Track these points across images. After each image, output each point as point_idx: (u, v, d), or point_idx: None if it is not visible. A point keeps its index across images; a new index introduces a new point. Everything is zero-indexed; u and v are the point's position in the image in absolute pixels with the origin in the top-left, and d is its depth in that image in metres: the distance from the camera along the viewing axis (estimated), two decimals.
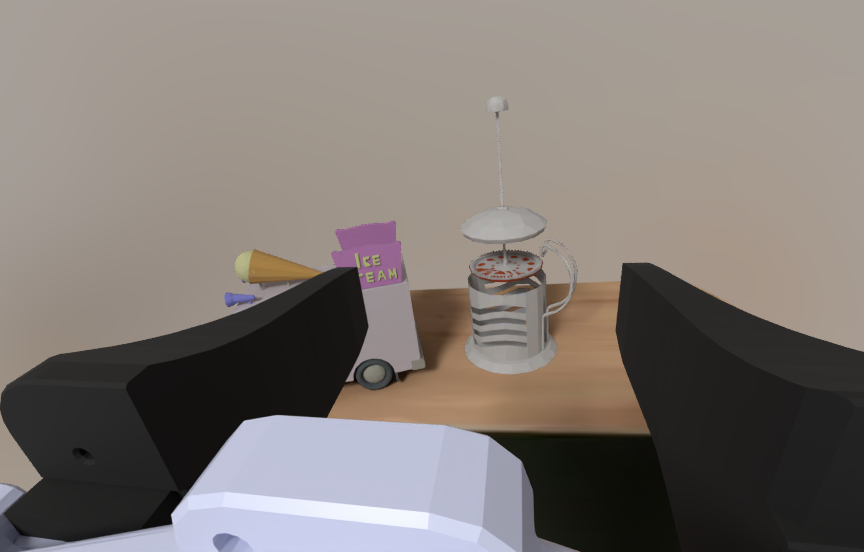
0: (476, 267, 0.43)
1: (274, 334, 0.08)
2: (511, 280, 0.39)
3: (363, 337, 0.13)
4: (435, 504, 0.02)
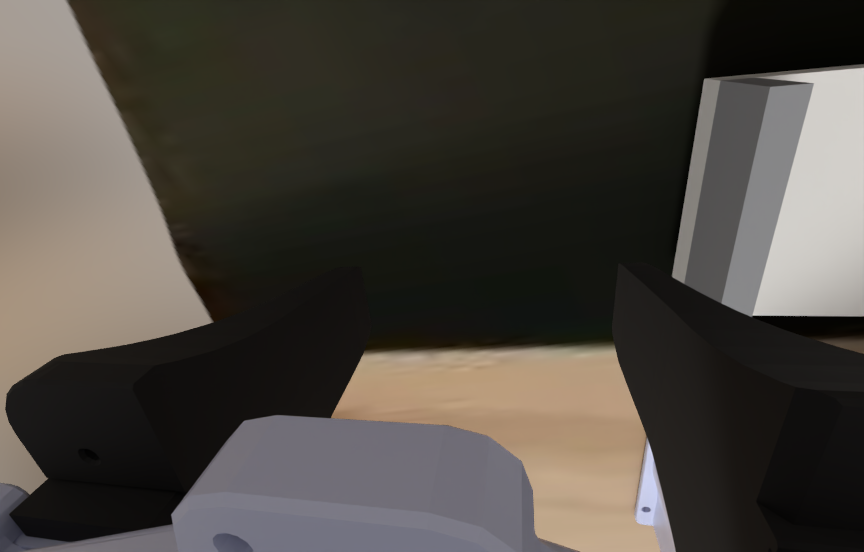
0: None
1: (279, 334, 0.08)
2: None
3: (366, 337, 0.13)
4: (435, 504, 0.02)
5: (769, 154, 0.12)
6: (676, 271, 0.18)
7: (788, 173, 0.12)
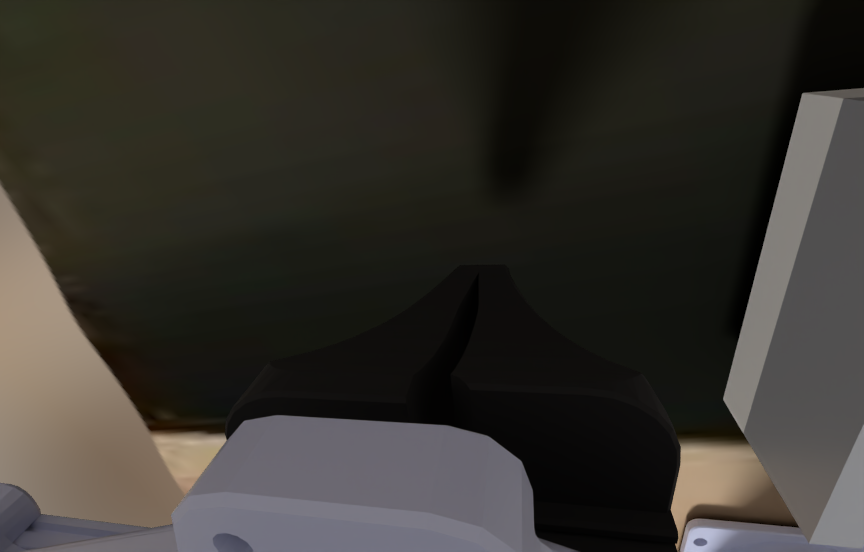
0: None
1: (452, 337, 0.08)
2: None
3: None
4: (435, 504, 0.02)
5: None
6: (739, 368, 0.13)
7: None
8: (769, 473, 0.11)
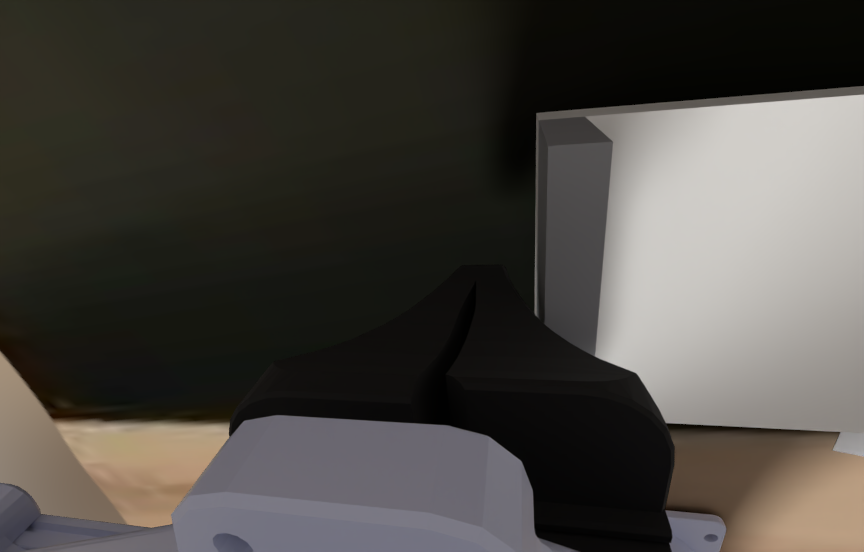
0: None
1: (455, 338, 0.08)
2: None
3: None
4: (435, 504, 0.02)
5: (567, 245, 0.08)
6: None
7: (601, 272, 0.08)
8: None
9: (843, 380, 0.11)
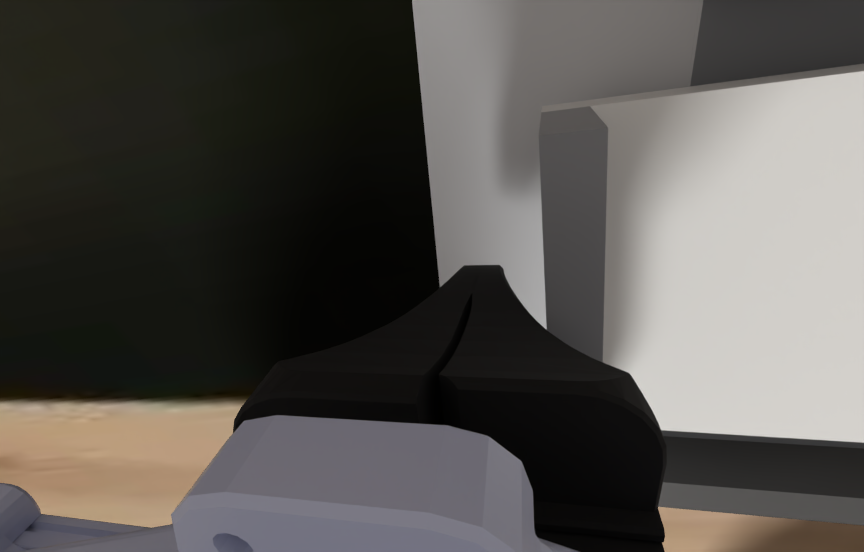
0: None
1: (459, 338, 0.08)
2: None
3: None
4: (435, 504, 0.02)
5: (565, 241, 0.07)
6: None
7: (604, 269, 0.07)
8: None
9: None
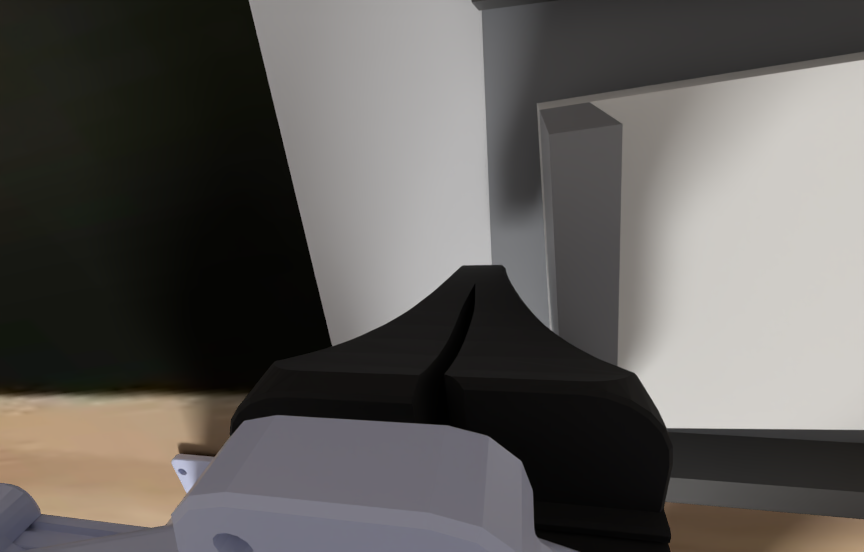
0: None
1: (456, 337, 0.08)
2: None
3: None
4: (435, 504, 0.02)
5: (578, 244, 0.07)
6: None
7: (618, 272, 0.07)
8: None
9: None
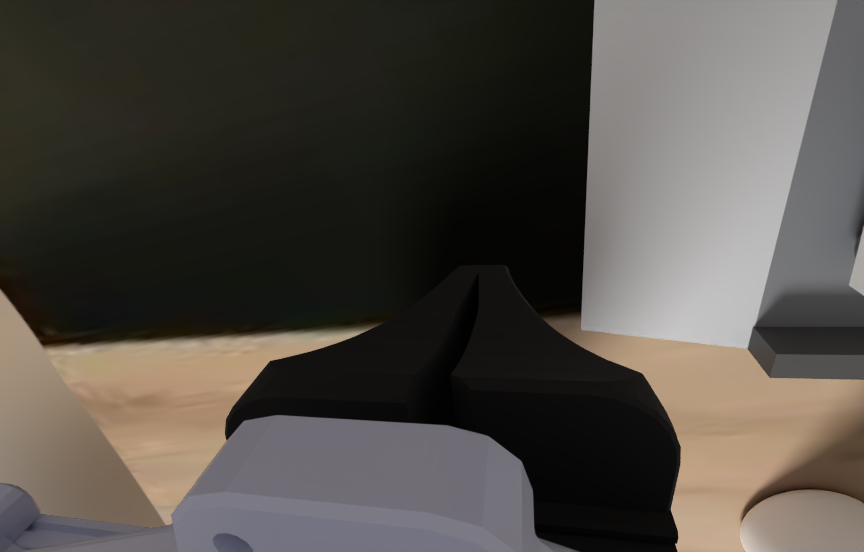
0: None
1: (452, 338, 0.08)
2: None
3: None
4: (435, 505, 0.02)
5: None
6: None
7: None
8: None
9: None
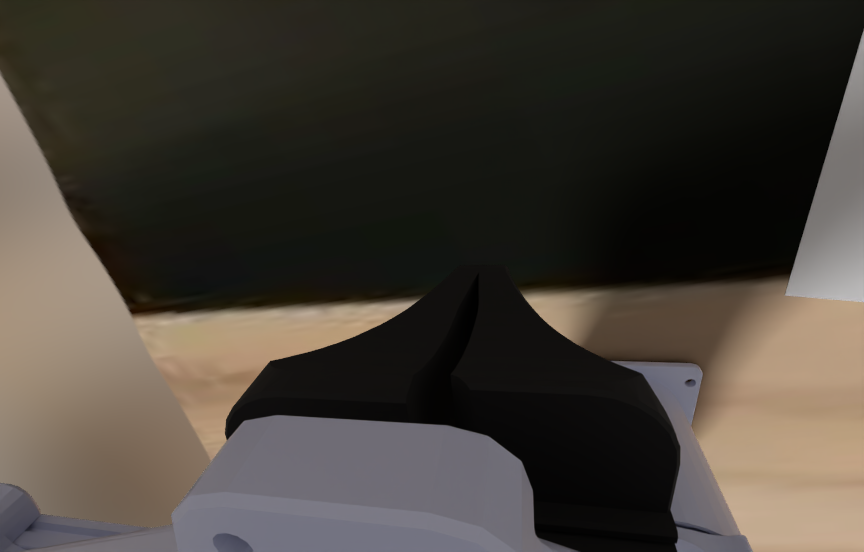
0: None
1: (452, 337, 0.08)
2: None
3: None
4: (435, 504, 0.02)
5: None
6: None
7: None
8: None
9: None
